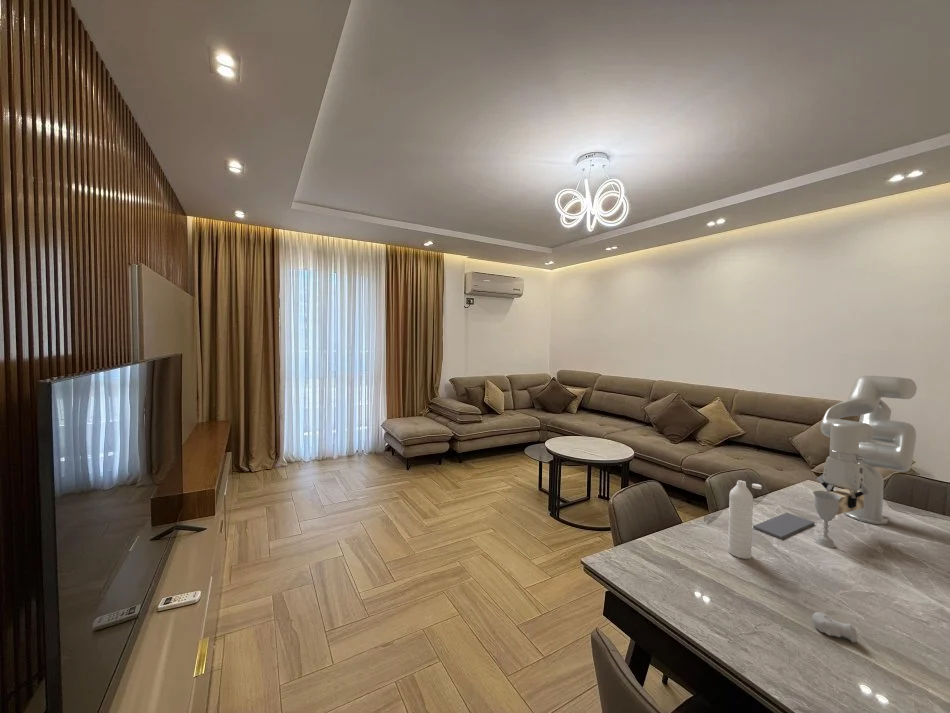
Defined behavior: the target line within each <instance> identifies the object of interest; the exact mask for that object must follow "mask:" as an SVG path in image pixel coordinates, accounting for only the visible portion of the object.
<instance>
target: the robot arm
mask: <svg viewBox="0 0 950 713" xmlns="http://www.w3.org/2000/svg"><path fill="white" fill-rule="evenodd" d="M917 389H918V387H917V383H916V382H915V381H914V380H913V379H911V378H906V377H900V376H884V375H883V376H882V375H862V376H860V377H858V378H856V379H855V381H854V384H853V386H852V388H851V390H850V393H849V395H848V398H847V399H846V400H843V401H840V402H838V403H836V404H834V405H832V406H830V407H829V408H828V409H827V410H826V411H825V413H824V415H823V417H822V420H821V423H820V426H819V427H820V432H821V433H822V434H823V435H824V436H825V437H828V438H830V439H829V456H827V457H826V459H825V463H824V467H823V473H822V474H821V475H819V476H818V477H816V481H817V482H818V483H819V484H821V485H822V486H823V487H824V488H825V490H826V491H827V492H831V491H835V490H834V489H835V487H840V488H842V489H846V488H847V489H849V491H850V495H851V496H850V497H849V508H851V509H852V508H854V507H856V505H857V497H859V496H861V495H864V508H862V509H858V510H854V511H850V512H846V513H843V514H844V515H846V517H849V518H852V519H854V520H856V521H860V522H863V523H868V524H873V525H886V524H888V523H889V522H888V519H887V518H886V517H885V516H883V505H884V504H883V503H884V481H885V480H884V477H883V475H882V474H881V472H880V471H879V470H878V469H879V468H880V469H885V470H890V471H895V472H900V473H901V472H902V473H904V472H905V473H906V472H909V471H910V469H911V467H912V464H913V461H914V452H915V447H916V442H917V432H916V428H915V426H914V425H912V424H910V422H906V421H899V420H891V414H892V410H891V408H890V407H889V405H888V404H887V403H886V402H885V401H883V400H882V399H881V398H887V399H888V398H889V399H899V400H910V399H913V398H914V397H915V396H916V395H917V394H916V393H917ZM854 416H855V417H856V416H859V419H858V421H854V420H849V419H843V418H847V417H854ZM882 443H883V444H882ZM888 444H889V445H888ZM877 468H878V469H877ZM857 490H858V491H860V492H857Z"/></svg>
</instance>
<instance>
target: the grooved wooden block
mask: <svg viewBox="0 0 950 713" xmlns="http://www.w3.org/2000/svg"><path fill="white" fill-rule="evenodd" d="M857 492H860V491H858V490H857ZM831 493H835V494H837V495H839V496H840V497H841V499H840V500H839V511H838V512H837V514H836V516H837V515H841V514H844V513H846V512H850V511H854V510H858V509H862V508H864V495H861V496H859V497H857V505H856V507H854V508H852V509H851V508H849V497H850V496H851V495H850V491H849V489H847V488H841V489H838V490H834V491H831Z"/></svg>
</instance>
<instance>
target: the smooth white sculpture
mask: <svg viewBox="0 0 950 713" xmlns="http://www.w3.org/2000/svg"><path fill="white" fill-rule="evenodd" d="M811 621H812V624H813V626H814V627H815V629H817V630H818V632H820V633H823V634H826V635H827V636H830V637H831V636H833V637H837V638H841V637H844V638H847V639H848V640H849V641H851V643H857V642H858V639H857V638H858V637H857V636H858V635H857V630H856V626H854V625H853V624H852V623H850V622H849V623H843V622H840V621H838V620H835V619H833V618H832V617H831V616H828V615H827V614H825V613H823V612H820V611H816V612H814V613H813V614H812V615H811Z"/></svg>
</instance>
